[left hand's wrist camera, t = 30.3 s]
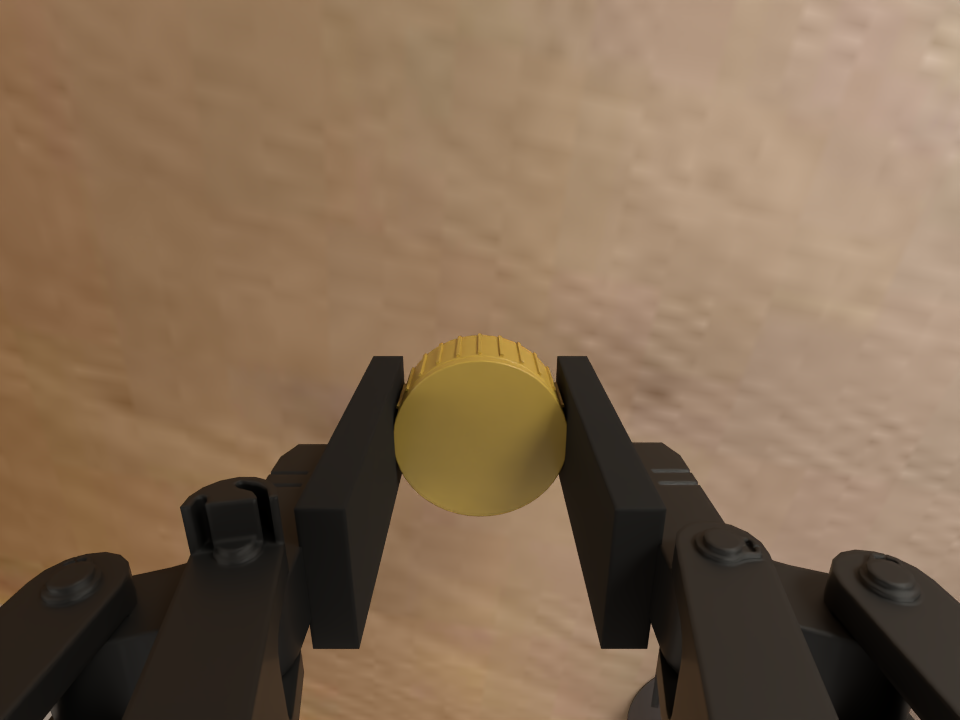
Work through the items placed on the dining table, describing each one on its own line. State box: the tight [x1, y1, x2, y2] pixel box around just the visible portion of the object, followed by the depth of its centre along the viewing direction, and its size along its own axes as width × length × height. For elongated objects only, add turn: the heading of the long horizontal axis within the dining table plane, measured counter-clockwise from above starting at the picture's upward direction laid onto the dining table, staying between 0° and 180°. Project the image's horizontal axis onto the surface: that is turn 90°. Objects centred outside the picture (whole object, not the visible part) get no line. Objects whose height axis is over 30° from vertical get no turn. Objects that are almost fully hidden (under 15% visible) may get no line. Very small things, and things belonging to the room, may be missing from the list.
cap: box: [394, 334, 567, 516], centre depth 14 cm, size 4×4×2 cm
